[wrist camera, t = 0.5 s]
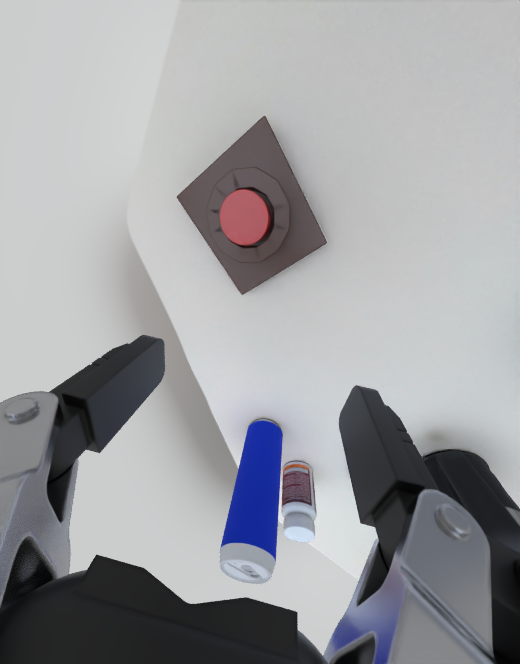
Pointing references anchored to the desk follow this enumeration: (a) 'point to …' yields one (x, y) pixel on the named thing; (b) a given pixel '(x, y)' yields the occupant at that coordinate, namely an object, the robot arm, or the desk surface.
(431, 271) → the desk surface
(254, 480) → the beverage can
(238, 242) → the power button
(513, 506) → the milk frother
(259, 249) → the button housing
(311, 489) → the pill bottle
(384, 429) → the robot arm
